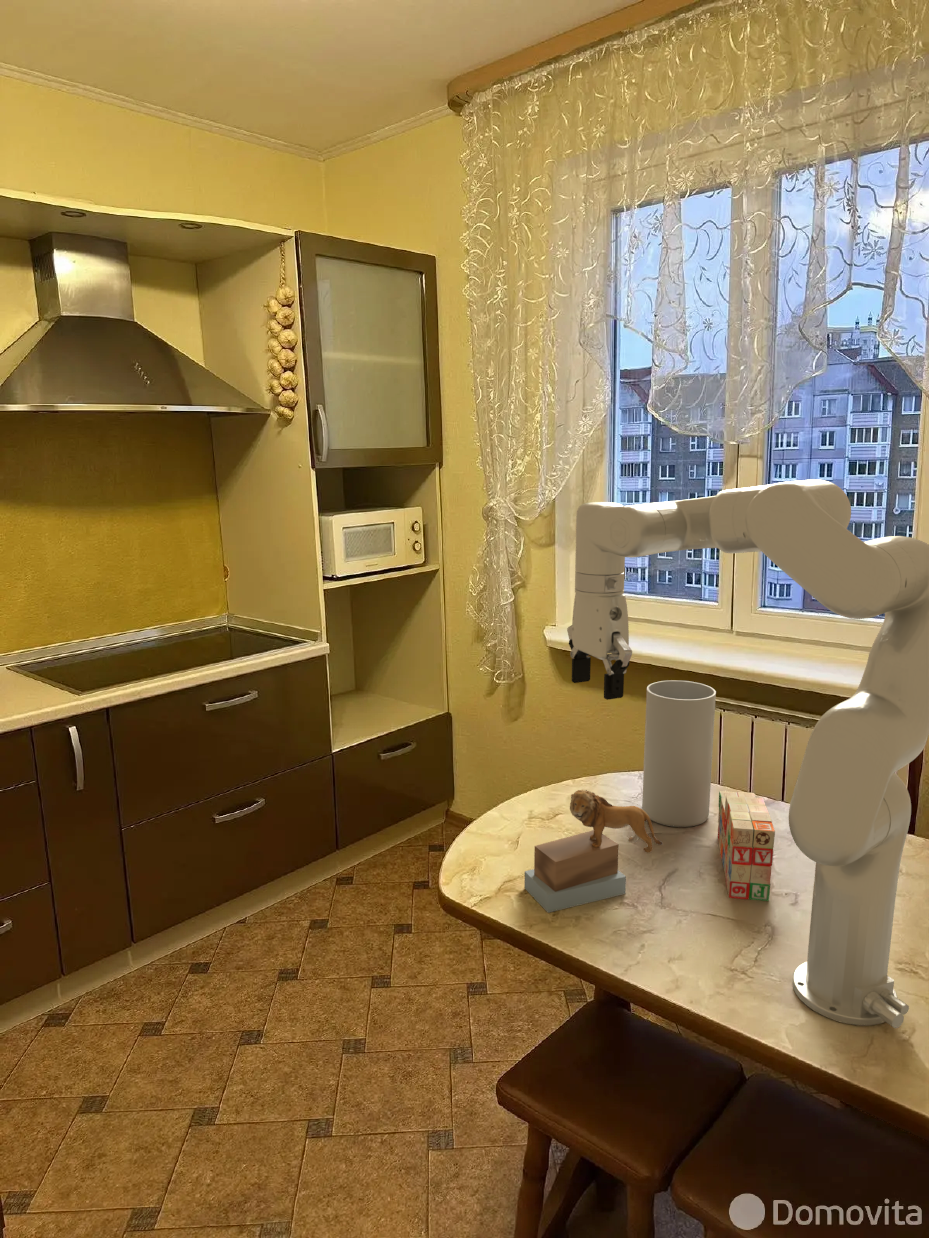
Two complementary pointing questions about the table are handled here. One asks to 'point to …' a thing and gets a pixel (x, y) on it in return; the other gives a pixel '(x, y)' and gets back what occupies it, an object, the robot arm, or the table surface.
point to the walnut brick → (575, 861)
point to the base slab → (574, 891)
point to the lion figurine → (610, 818)
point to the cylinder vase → (678, 752)
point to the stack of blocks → (745, 844)
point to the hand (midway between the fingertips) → (596, 689)
